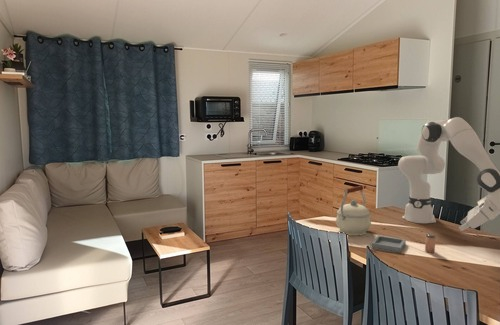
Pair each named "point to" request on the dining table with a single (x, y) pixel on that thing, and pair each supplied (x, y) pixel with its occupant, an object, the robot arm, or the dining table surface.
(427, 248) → the terracotta jar
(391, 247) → the tray
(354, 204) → the kettle
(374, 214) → the dining table surface
